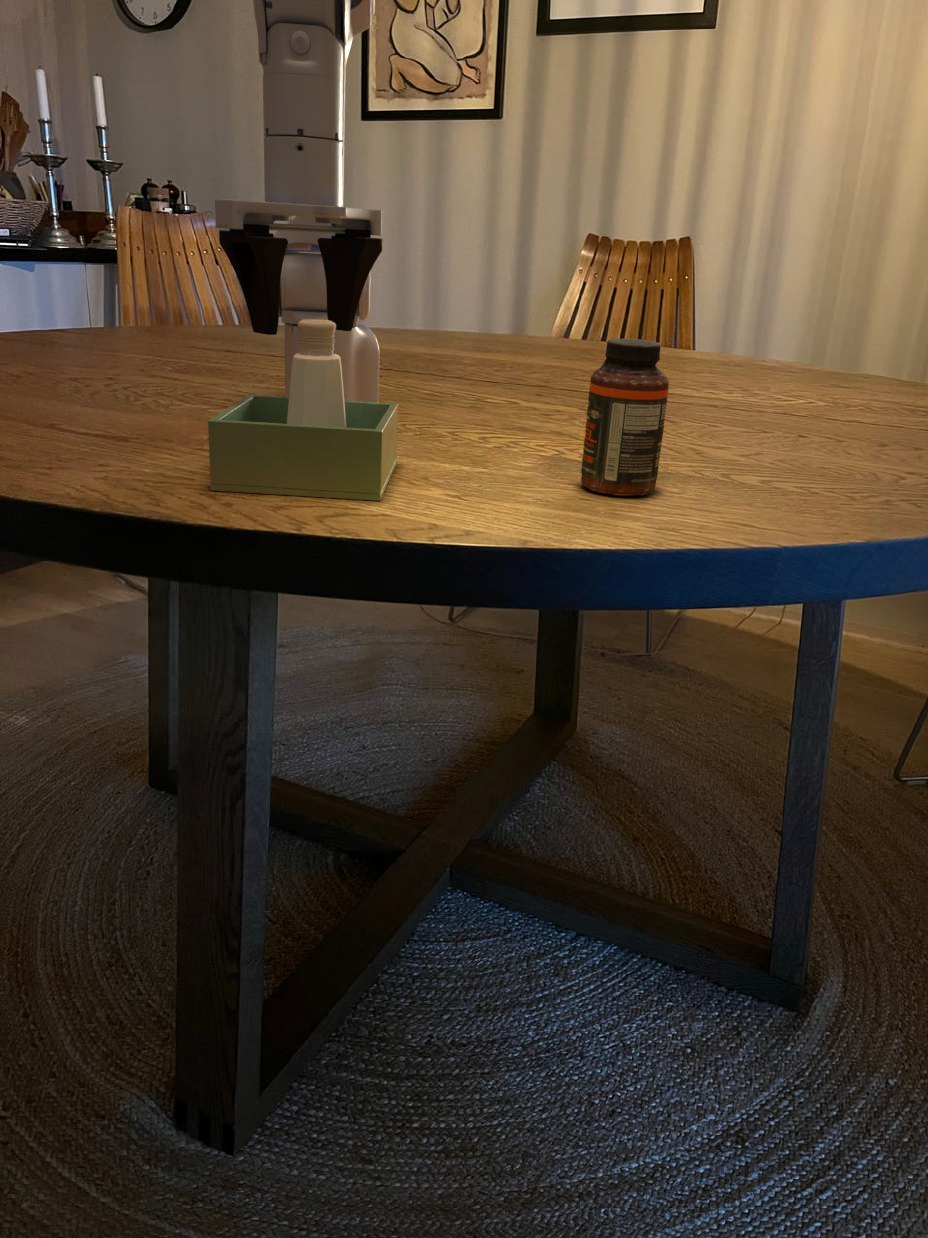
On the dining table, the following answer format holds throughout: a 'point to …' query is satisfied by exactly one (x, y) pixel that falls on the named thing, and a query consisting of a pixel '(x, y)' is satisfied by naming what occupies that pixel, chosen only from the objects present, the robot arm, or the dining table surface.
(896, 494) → the dining table surface
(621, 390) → the supplement bottle
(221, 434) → the storage bin
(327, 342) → the pepper shaker
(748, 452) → the dining table surface
